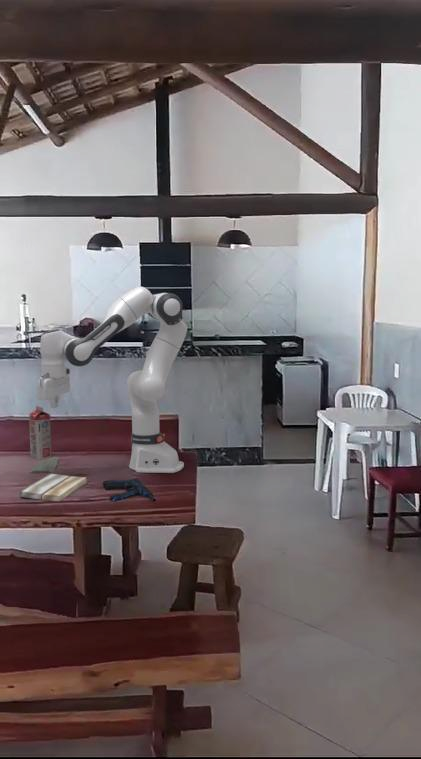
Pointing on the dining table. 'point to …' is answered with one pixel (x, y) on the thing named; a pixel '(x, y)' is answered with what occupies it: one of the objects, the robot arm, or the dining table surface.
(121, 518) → the dining table surface
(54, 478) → the board
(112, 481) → the gun
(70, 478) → the thin beige board
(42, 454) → the carton
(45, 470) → the stone slab
